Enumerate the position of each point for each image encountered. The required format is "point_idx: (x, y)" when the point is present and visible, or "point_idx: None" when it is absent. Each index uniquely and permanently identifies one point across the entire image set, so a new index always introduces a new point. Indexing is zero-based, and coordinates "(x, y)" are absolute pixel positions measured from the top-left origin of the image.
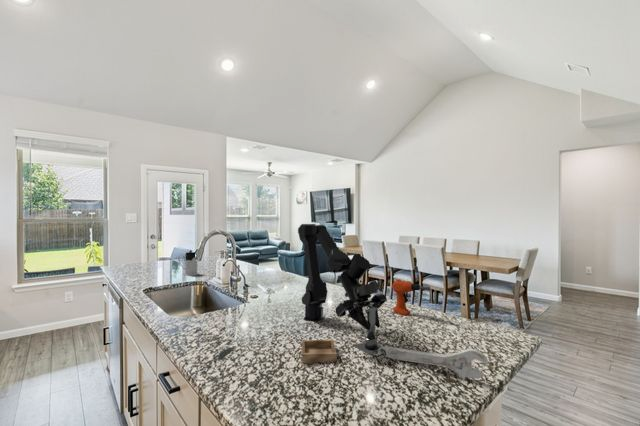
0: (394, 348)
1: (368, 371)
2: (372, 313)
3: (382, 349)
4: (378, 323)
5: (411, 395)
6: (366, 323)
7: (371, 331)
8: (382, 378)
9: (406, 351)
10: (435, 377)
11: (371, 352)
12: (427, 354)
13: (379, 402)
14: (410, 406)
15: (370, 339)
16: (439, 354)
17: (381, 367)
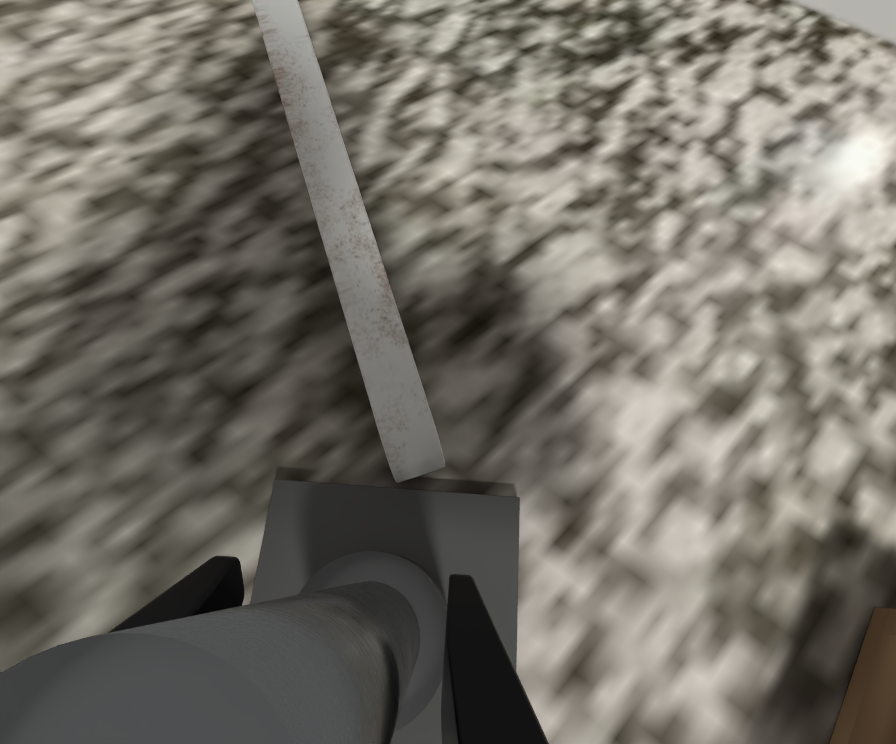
0: (368, 312)
1: (696, 340)
2: (305, 631)
3: (327, 513)
4: (205, 585)
5: (645, 71)
6: (502, 653)
7: (391, 604)
8: (668, 234)
9: (360, 199)
10: (388, 89)
11: (465, 534)
12: (315, 59)
13: (836, 114)
14: (715, 35)
15: (411, 604)
16: (265, 4)
17: (571, 324)
